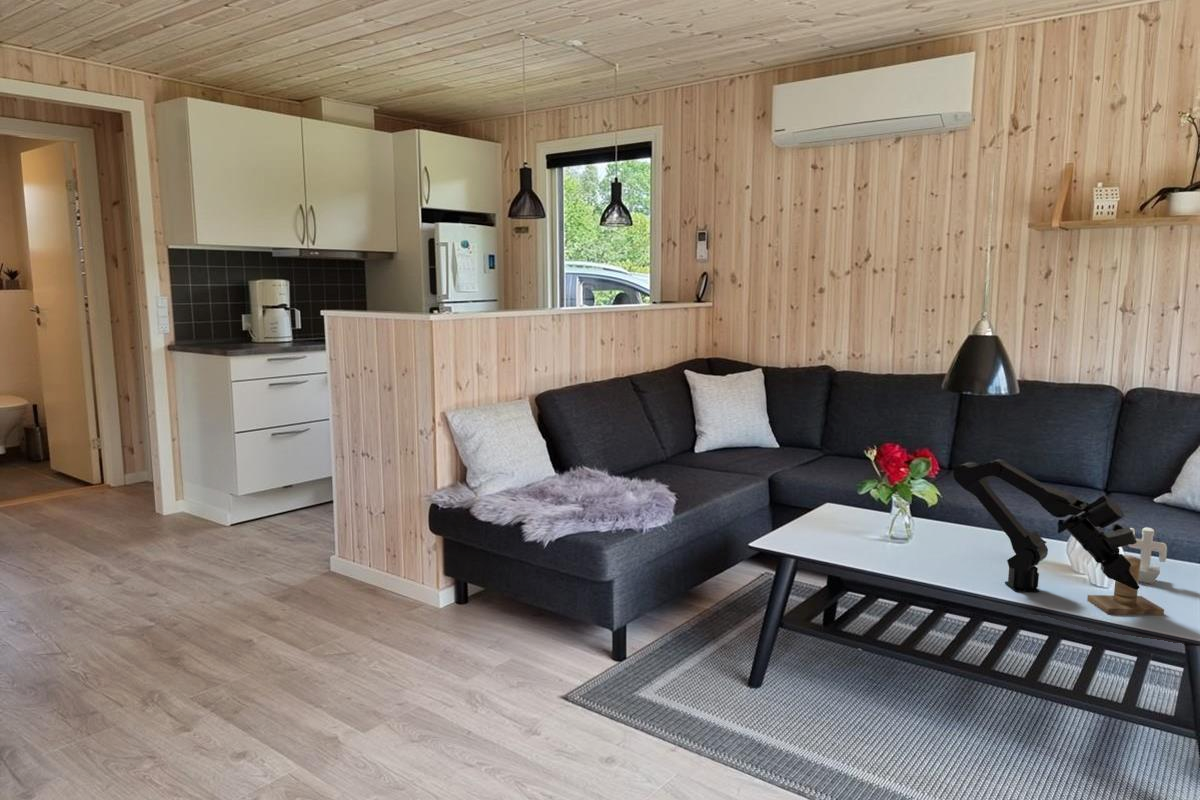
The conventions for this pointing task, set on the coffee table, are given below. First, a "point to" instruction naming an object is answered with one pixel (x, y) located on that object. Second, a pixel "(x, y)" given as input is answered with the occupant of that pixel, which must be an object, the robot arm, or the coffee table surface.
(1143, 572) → the figurine
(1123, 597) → the oak peg
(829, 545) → the coffee table surface
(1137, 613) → the walnut board
